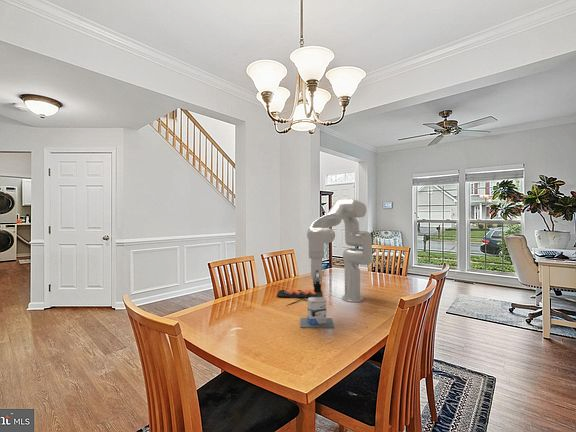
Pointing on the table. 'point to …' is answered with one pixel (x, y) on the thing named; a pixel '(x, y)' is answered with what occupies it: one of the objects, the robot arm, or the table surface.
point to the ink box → (316, 310)
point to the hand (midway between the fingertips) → (317, 289)
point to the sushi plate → (299, 294)
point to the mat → (306, 324)
